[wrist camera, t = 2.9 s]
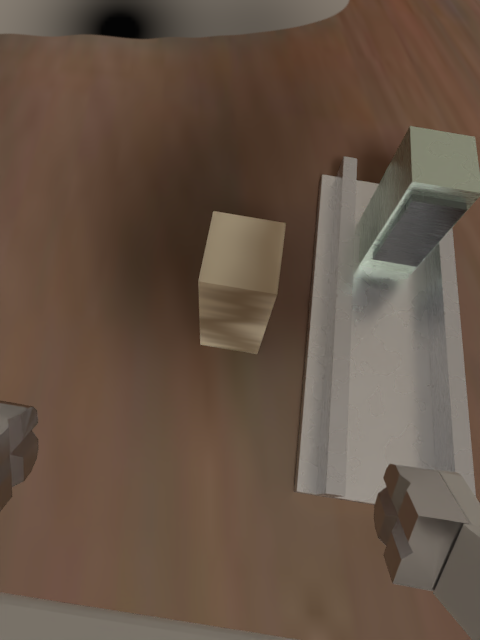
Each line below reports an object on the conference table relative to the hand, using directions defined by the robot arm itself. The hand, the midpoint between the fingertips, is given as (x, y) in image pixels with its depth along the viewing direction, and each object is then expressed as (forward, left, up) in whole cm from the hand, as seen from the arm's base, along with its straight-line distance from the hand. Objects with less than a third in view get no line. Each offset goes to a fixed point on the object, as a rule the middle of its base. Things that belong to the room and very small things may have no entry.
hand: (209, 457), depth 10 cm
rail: (+12, +15, -20) cm, 28 cm away
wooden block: (0, +13, -20) cm, 24 cm away
